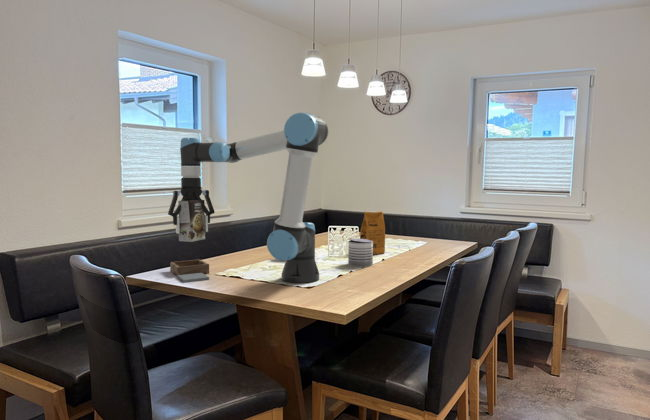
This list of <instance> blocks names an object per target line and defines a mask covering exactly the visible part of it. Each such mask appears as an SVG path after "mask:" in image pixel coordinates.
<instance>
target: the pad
mask: <svg viewBox="0 0 650 420" xmlns="http://www.w3.org/2000/svg"><path fill="white" fill-rule="evenodd" d="M176 277H177V279H179V280H180V281H181V282H183V283H192V282H193V283H194V282H199V281H209V280H210V276H208V275H207V274H203V273H193V274H184V275H177V276H176Z"/></svg>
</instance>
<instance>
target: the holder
mask: <svg viewBox="0 0 650 420" xmlns="http://www.w3.org/2000/svg"><path fill="white" fill-rule="evenodd" d="M169 265H170V269H169V270H170V272H171V274H173V275H175V276H176V277H177V275H184V274H193V273H203V274H205V275H208V274H210V264H209V263H208V262H206V261H204V260H203V259H189V260H181V261H170V263H169Z"/></svg>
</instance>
